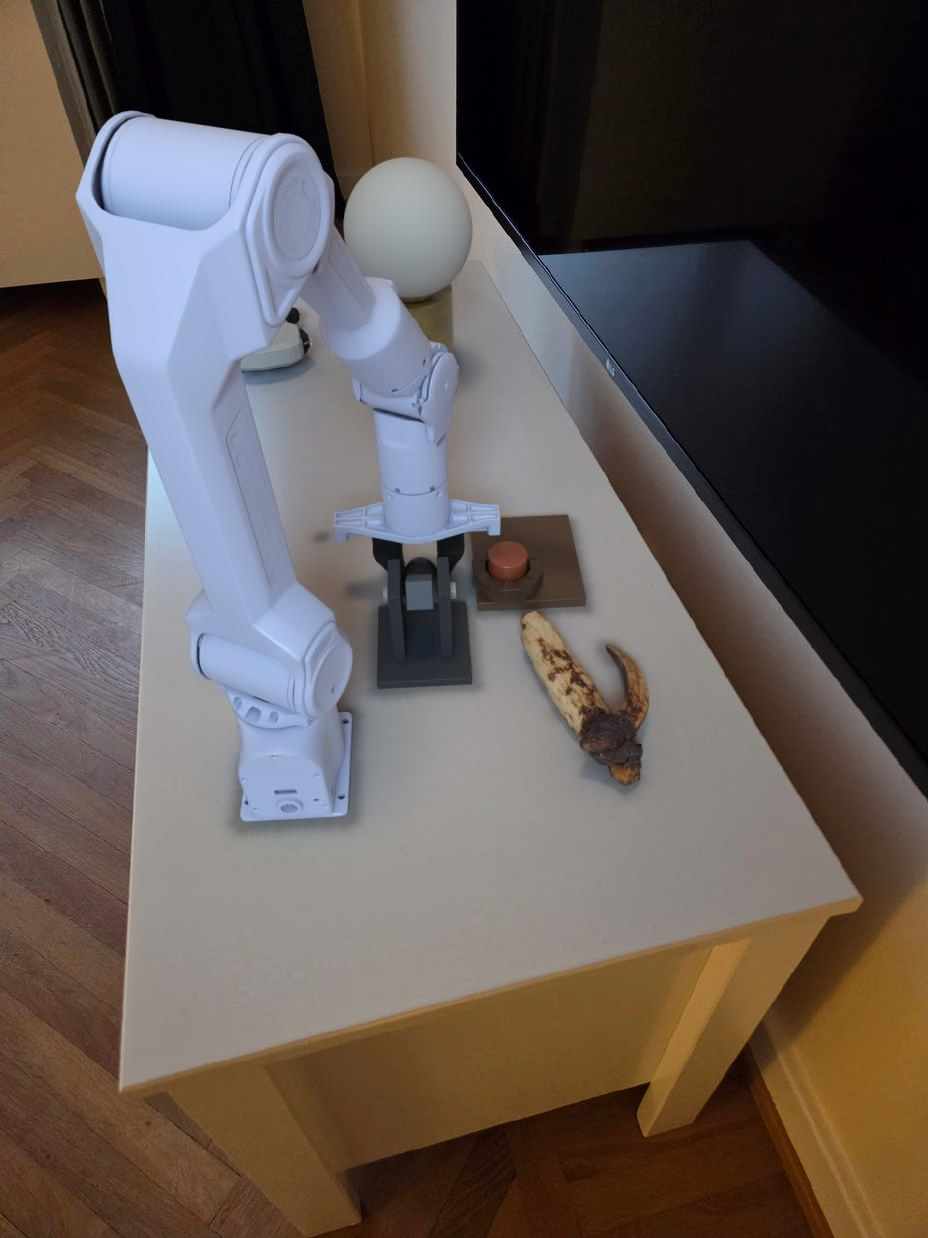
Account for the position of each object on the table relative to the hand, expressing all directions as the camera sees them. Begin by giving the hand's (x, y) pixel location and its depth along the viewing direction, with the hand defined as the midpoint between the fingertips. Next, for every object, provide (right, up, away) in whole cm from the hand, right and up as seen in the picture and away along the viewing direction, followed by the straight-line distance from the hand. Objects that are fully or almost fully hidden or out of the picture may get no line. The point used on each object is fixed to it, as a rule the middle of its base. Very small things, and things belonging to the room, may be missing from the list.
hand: (422, 590), depth 80 cm
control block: (+10, +2, +2) cm, 10 cm away
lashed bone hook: (+15, -10, -10) cm, 20 cm away
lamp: (-2, +28, +26) cm, 38 cm away
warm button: (+8, +2, -2) cm, 9 cm away
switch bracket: (0, -5, -6) cm, 8 cm away
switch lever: (0, -1, -6) cm, 6 cm away
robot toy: (-22, +33, +28) cm, 49 cm away
